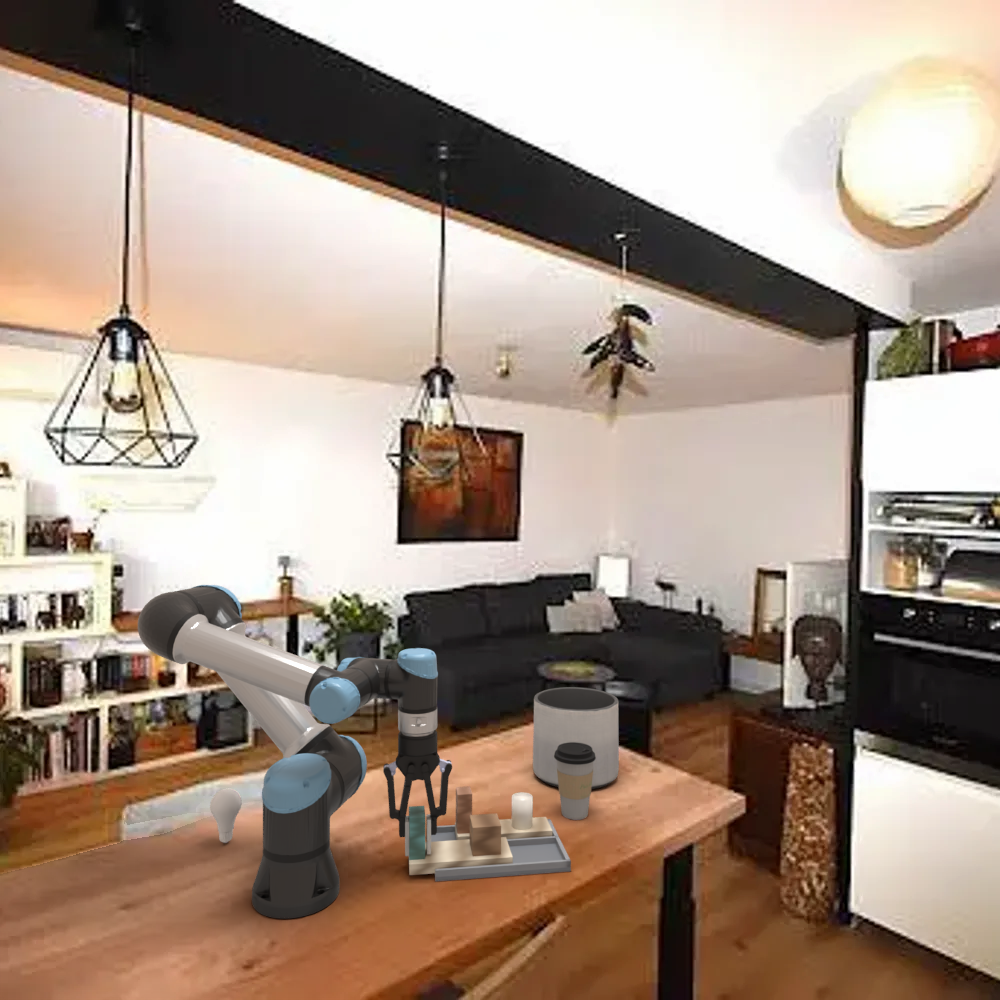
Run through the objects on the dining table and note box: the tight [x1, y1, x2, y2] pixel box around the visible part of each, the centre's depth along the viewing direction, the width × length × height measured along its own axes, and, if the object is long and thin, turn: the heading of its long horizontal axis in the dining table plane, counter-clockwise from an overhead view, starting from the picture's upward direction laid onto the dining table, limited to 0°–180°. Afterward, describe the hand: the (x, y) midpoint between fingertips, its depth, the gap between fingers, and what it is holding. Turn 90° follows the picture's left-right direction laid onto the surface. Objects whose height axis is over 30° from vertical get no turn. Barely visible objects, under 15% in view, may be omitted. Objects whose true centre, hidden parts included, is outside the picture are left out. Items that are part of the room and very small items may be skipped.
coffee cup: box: [554, 742, 596, 821], centre depth 161 cm, size 9×9×15 cm
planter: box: [532, 686, 620, 790], centre depth 184 cm, size 22×22×20 cm
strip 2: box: [454, 785, 552, 840], centre depth 149 cm, size 20×6×10 cm, turn 99°
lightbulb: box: [209, 787, 243, 844], centre depth 147 cm, size 6×6×11 cm
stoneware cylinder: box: [511, 791, 534, 830], centre depth 149 cm, size 4×4×6 cm
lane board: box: [431, 818, 572, 882], centre depth 144 cm, size 26×18×2 cm
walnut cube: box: [470, 812, 501, 856], centre depth 139 cm, size 6×6×6 cm
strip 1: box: [408, 805, 513, 876], centre depth 139 cm, size 20×8×10 cm, turn 99°
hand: (417, 851), depth 137 cm, fingers open, 3 cm apart
